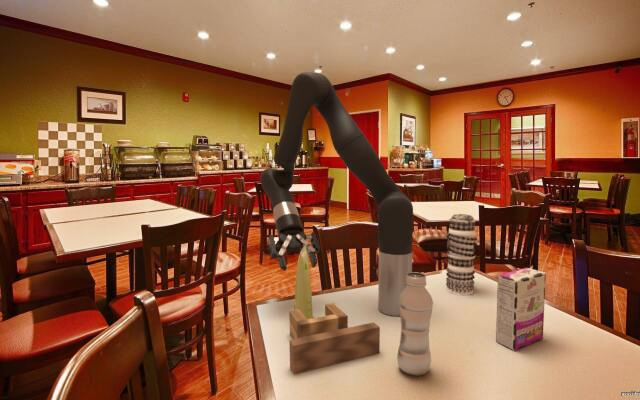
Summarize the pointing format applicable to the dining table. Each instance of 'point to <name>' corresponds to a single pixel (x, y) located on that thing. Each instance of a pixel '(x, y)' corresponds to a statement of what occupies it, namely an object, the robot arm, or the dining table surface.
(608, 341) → the dining table surface
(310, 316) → the tube
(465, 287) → the decorative candle
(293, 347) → the wooden plank
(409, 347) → the plastic bottle
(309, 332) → the block
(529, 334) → the candy bar box
